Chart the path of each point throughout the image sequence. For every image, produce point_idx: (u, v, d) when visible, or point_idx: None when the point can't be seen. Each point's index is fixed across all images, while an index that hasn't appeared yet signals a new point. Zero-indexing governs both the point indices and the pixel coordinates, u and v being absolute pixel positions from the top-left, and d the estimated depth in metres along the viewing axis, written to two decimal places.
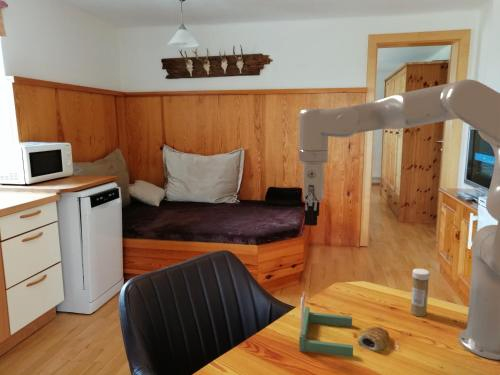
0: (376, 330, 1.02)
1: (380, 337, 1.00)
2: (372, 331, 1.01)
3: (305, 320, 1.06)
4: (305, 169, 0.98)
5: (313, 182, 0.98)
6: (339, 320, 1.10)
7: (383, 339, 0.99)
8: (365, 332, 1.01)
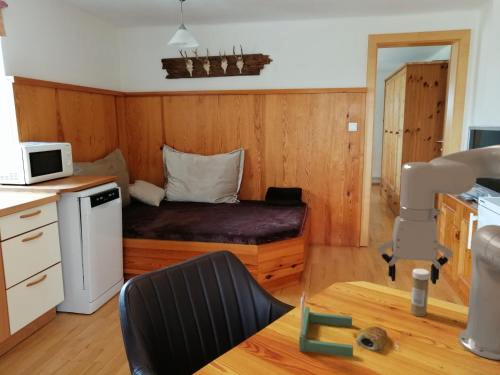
0: (374, 330, 1.02)
1: (379, 336, 1.00)
2: (371, 331, 1.01)
3: (305, 320, 1.06)
4: (436, 227, 0.92)
5: None
6: (339, 320, 1.10)
7: (382, 339, 1.00)
8: (364, 332, 1.01)
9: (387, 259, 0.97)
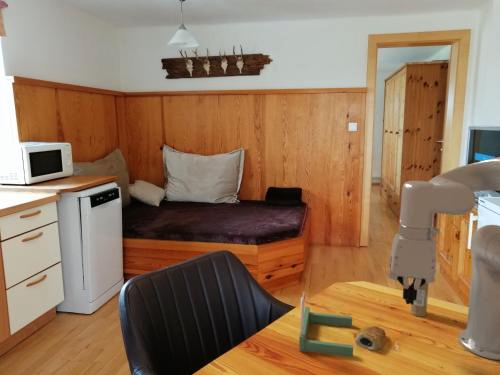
0: (373, 329, 1.02)
1: (378, 336, 1.00)
2: (369, 330, 1.01)
3: (305, 320, 1.06)
4: (434, 246, 0.93)
5: None
6: (339, 320, 1.10)
7: (380, 338, 1.00)
8: (362, 331, 1.02)
9: (402, 282, 0.97)
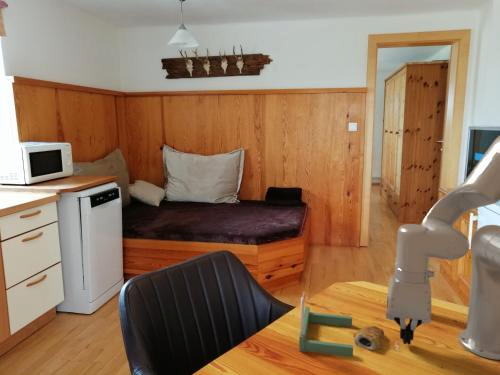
0: (372, 329, 1.02)
1: (377, 336, 1.00)
2: (368, 330, 1.02)
3: (305, 320, 1.06)
4: (430, 289, 0.95)
5: None
6: (339, 320, 1.10)
7: (379, 338, 1.00)
8: (361, 331, 1.02)
9: (399, 322, 0.99)
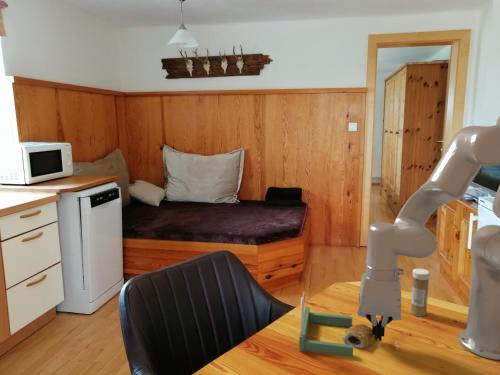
0: (361, 327, 1.03)
1: (365, 334, 1.01)
2: (357, 329, 1.02)
3: (305, 320, 1.06)
4: (399, 286, 0.96)
5: None
6: (339, 320, 1.10)
7: (368, 336, 1.01)
8: (350, 330, 1.02)
9: (371, 319, 1.00)
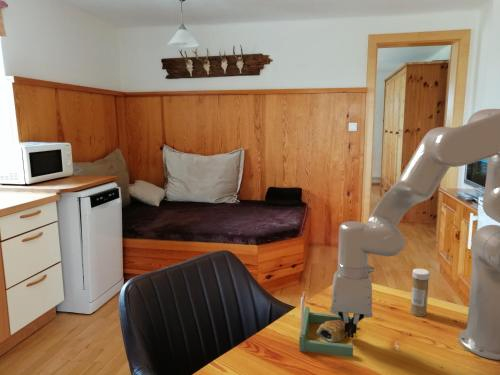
0: (335, 323, 1.06)
1: (338, 329, 1.03)
2: (331, 323, 1.05)
3: (305, 320, 1.06)
4: (370, 284, 0.98)
5: None
6: None
7: (340, 331, 1.03)
8: (324, 324, 1.05)
9: (343, 316, 1.02)
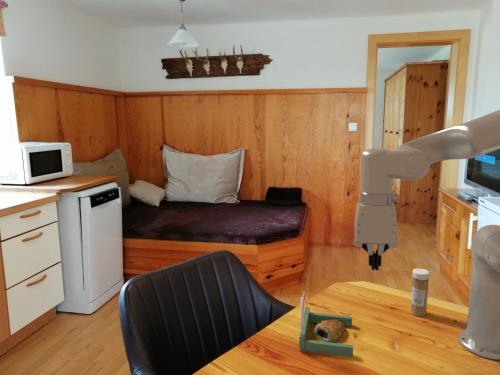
0: (331, 322, 1.06)
1: (334, 328, 1.04)
2: (327, 323, 1.05)
3: (305, 320, 1.06)
4: (394, 211, 0.95)
5: None
6: (339, 320, 1.10)
7: (337, 331, 1.03)
8: (320, 324, 1.06)
9: (367, 249, 0.99)
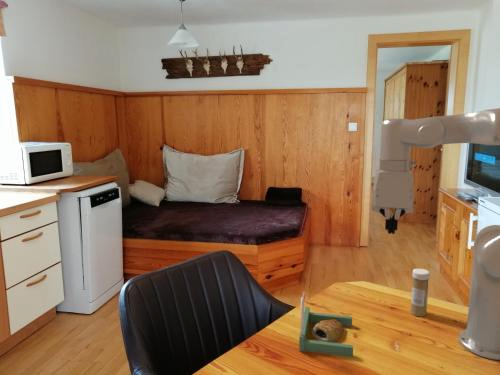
0: (330, 322, 1.06)
1: (333, 328, 1.04)
2: (326, 323, 1.05)
3: (305, 320, 1.06)
4: (412, 177, 1.01)
5: None
6: (339, 320, 1.10)
7: (335, 331, 1.04)
8: (319, 324, 1.06)
9: (384, 213, 1.05)
